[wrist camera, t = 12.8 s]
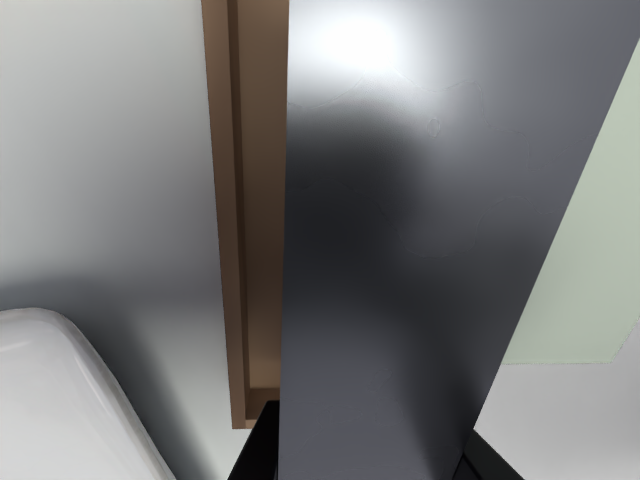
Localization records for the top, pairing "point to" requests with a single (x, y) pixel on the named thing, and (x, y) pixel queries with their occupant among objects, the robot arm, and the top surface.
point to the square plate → (65, 407)
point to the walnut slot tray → (249, 188)
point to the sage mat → (592, 252)
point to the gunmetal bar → (424, 211)
